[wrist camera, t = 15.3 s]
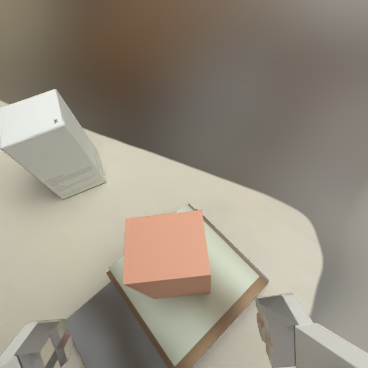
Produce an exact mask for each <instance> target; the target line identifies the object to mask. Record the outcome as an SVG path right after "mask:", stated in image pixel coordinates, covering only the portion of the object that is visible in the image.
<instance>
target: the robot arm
mask: <svg viewBox="0 0 368 368" xmlns="http://www.w3.org/2000/svg"><path fill="white" fill-rule="evenodd" d="M256 307H257V309H258V313H257V322H258V328H259V332H260V335H261V338H262V341H264V342H265V343H266V352H267V355H268V357H269V360H270V363H271V365H272V368H277V367H291V366H296V368H368V353H366V352H364V351H362V350H361V349H359V348H358V347H356V346H354V345H353V344H351V343H349V342H348V341H346V340H344V339H343V338H341V337H339V336H338V335H336V334H334V333H333V332H331V331H329V330H328V329H326V328H324V327H323V326H321V325H319V324H318V323H316V324H314V323H313V322H312V320H311V319H310V317H309V316H308V314H307V313H306V311H305V310H304V308H303V307H302V305H301V304H300V302H299V301H298V299H297V298H296V296H295V295H294V294H293V293H286V294H280V295H272V296H263V297H256ZM67 328H68V324H67V321H66V320H65V319H56V320H45V321H36V322H29V323H27V324H26V325H25V326H24V327H23V328H22V330H21V331H20V332H19V333H18V335H17V336H16V337H15V338H14V340H13V341H12V342H11V343H10V345H9V346H8V347H7V349H6V350H5V351H4V352H3V354H2V355H1V356H0V368H61V367H62V366H63V365H64V364H65V363H66V362H67V361H68V359H69V357H70V355H71V351H72V346H73V344H72V337H71V335H70V334H69V333H68V332H67V331H66V330H67Z"/></svg>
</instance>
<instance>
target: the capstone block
mask: <svg viewBox="0 0 368 368" xmlns="http://www.w3.org/2000/svg"><path fill="white" fill-rule="evenodd" d="M123 285H125V286H127V287H130V288H132V289H134V290H136V291H138V292H140V293H142V294H145V295H147V296H149V297H151V298H153V299H161V298H170V297H179V296H188V295H198V294H207V293H211V272H210V265H209V258H208V250H207V243H206V236H205V229H204V222H203V214H202V210H196V211H187V212H179V213H171V214H162V215H154V216H146V217H137V218H129V219H126V223H125V248H124V273H123Z"/></svg>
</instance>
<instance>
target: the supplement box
mask: <svg viewBox="0 0 368 368" xmlns="http://www.w3.org/2000/svg"><path fill="white" fill-rule="evenodd" d="M0 149H1V150H3V151H4V152H5V153H7V154H8V155H9V156H10V157H12V158H13V159H14V160H15V161H16V162H18V163H19V164H20V165H21V166H23V167H24V168H25V169H26V170H27V171H29V172H30V173H31V174H32V175H33V176H35V177H36V178H37V179H38V180H39V181H41V182H42V183H43V184H44V185H46V186H47V187H48V188H49V189H50V190H52V191H53V192H54V193H55V194H57V195H58V196H59V197H60V198H62V199H65V198H68V197H70V196H73V195H75V194H78V193H80V192H82V191H85V190H87V189H90V188H92V187H95V186H97V185H100V184H102V183H105V182H106V179H105V175H104V172H103V169H102V165H101V162H100V159H99V155H98V152H97V149H96V148H95V147H94V145H93V144H92V142H91V141H90V139H89V138H88V136H87V135H86V133H85V132H84V130H83V129H82V127H81V126H80V124H79V123H78V121H77V120H76V118H75V117H74V115H73V114H72V112H71V111H70V109H69V108H68V106H67V105H66V103H65V102H64V100H63V99H62V97H61V96H60V94H59V93H58V91H57V90H56V89H54V90H51V91H48V92H45V93H43V94H40V95H37V96H34V97H31V98H28V99H25V100H23V101H19V102H16V103H13V104H11V105H7V106H4V107H1V108H0Z"/></svg>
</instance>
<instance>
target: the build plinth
mask: <svg viewBox="0 0 368 368" xmlns="http://www.w3.org/2000/svg"><path fill="white" fill-rule="evenodd" d="M196 210H197V209H194V208H193V207H192V206H191V205H190V204H188V205H187V204H185V205H184V206H182V207H181V208H180V209H179V210H178V211H176V212H175V213H179V212H187V211H196ZM203 222H204V229H205V236H206V243H207V250H208V258H209V265H210V272H211V293H207V294H198V295H188V296H179V297H170V298H161V299H153V298H151V297H149V296H147V295H145V294H142V293H140V292H138V291H136V290H134V289H132V288H130V287H127V286H125V285H123V273H124V256H122V257H121V258H120V259H119V260H118V261H116V262H115V263H114V264H113V265H112V266H110V267H109V269H110V270H109V271H108V272H107V275H108V276H109V278H110V280H111V282H110V283H109V284H108V285H107V286H105V287H104V288H103V289H102V290H101V291H100V292H98V293H97V294H96V295H95V296H94V297H92V298H91V299H90V300H89V301H88V302H87V303H85V304H84V305H83V306H82V307H81V308H80V309H78V310H77V311H76V312H75V313H74V314H73V315H71V316H70V317H69V318H68V319H67V320H66V321H67V324H68V328H67V331H68V333H69V334H70V335H71V337H72V341H73V343H74V345H75V347H76V349H77V351H78V353H79V355H80V357H81V359H82V361H83V363H84V365H85V367H86V368H191V367H192V366H193V365H194V364H195V362H196V361H197V360H198V359H199V358H200V357H201V356H202V355H203V354H204V353H205V352H206V350H207V349H208V348H209V347H210V346H211V345H212V344H213V343H214V342H215V341H216V340H217V338H218V337H219V336H220V335H221V334H222V333H223V332H224V331H225V330H226V329H227V328H228V326H229V325H230V324H231V323H232V322H233V321H234V320H235V319H236V318H237V317H238V316H239V314H240V313H241V312H242V311H243V310H244V309H245V308H246V307H247V306H248V305H249V304H250V302H251V301H252V300H253V299H254V298H255V297H256V296H257V295H258V294H259V293H260V292H261V290H262V289H263V288H264V287H265V286H266V285H267V284H268V283H269V282H268V281H269V280H268V279H267V278H266V277H265V276H264V275H263V274H262V273H261V272H260V271H259V270H258V269H257V268H256V267H255V266H254V265H253V264H252V263H251V262H250V261H249V260H248V259H247V258H246V257H245V256H244V255H243V254H242V253H241V252H240V251H239V250H238V249H237V248H236V247H235V246H234V245H233V244H232V243H231V242H230V241H229V240H228V239H227V238H226V237H225V236H224V235H223V234H222V233H221V232H220V231H218V230H217V229H216V228H215V227H214V226H213V225H212V224H211V223H210V222H209V221H208V220H207V219H206V218H205V217H204V216H203Z"/></svg>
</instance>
